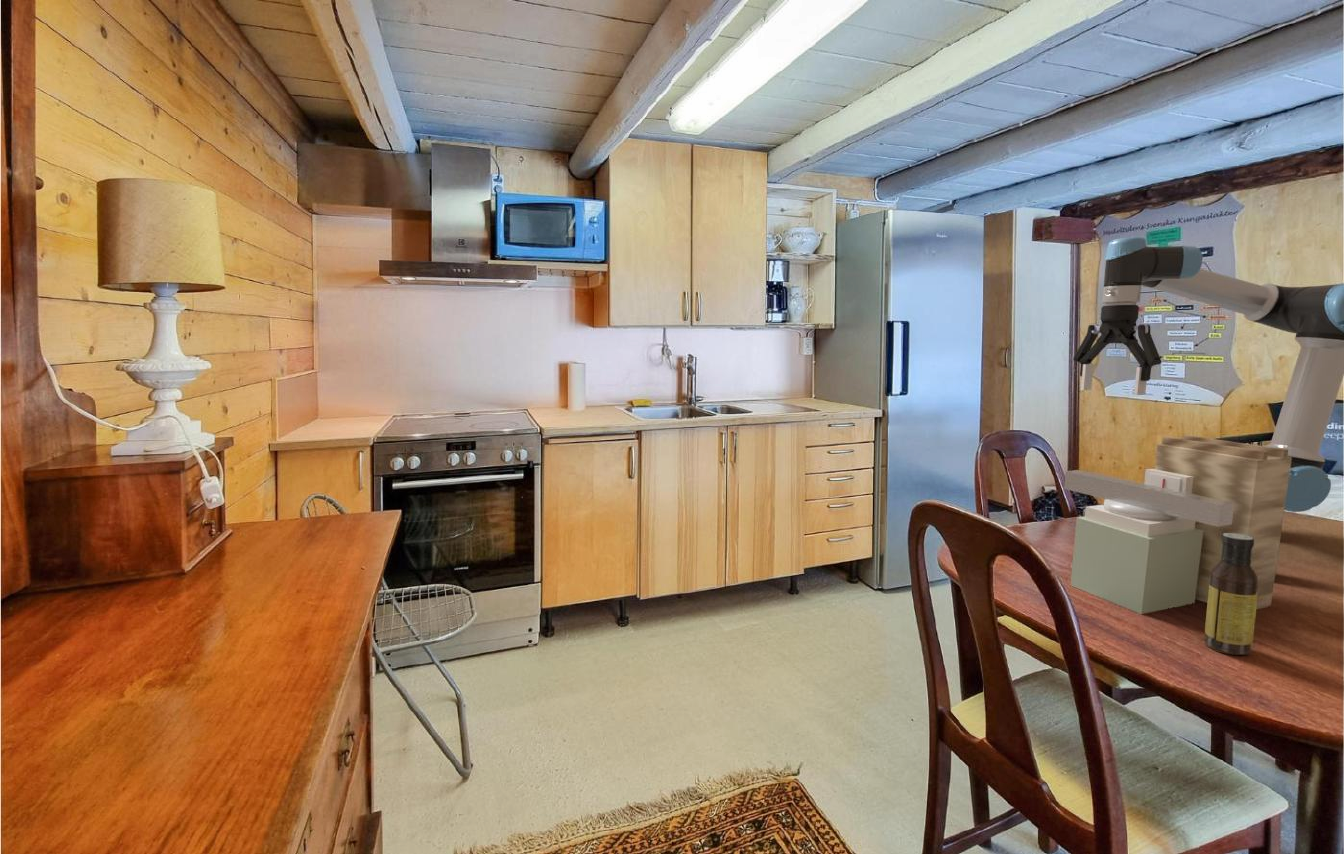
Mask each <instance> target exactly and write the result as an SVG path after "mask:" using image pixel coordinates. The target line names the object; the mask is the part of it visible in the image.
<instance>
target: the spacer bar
mask: <svg viewBox="0 0 1344 854" xmlns="http://www.w3.org/2000/svg"><path fill="white" fill-rule="evenodd" d="M1064 478H1065V479H1064V486H1063V487H1064V490H1068V491H1071V492H1076V493H1079V494H1083V495H1087V496H1088V495H1089V496H1093V497H1095V498H1100V499H1104V500H1105V499H1108V500H1112V501H1116V502H1120V503H1124V504H1128V505H1132V506H1136V507H1140V508H1144V509H1148V510H1152V511H1156V512H1160V513H1164V514H1168V515H1172V516H1176V517H1180V518H1184V519H1188V520H1192V521H1196V522H1201V523H1205V524H1209V525H1213V526H1217V527H1219V526H1225V525H1231V524H1232V519H1233V511H1234V503H1232V502H1228V501H1223V500H1218V499H1214V498H1209V497H1204V496H1199V495H1195V494H1190V493H1185V492H1181V491H1176V490H1171V489H1166V488H1162V487H1157V486H1152V485H1148V484H1144V482H1138V481H1137V482H1136V481H1133V480H1128V479H1125V478H1119V477H1114V476H1110V475H1105V474H1099V473H1096V472H1092V471H1085V470H1081V469H1075V470H1074V469H1073V470H1066V471H1065V477H1064Z"/></svg>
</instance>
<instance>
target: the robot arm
mask: <svg viewBox="0 0 1344 854" xmlns="http://www.w3.org/2000/svg"><path fill="white" fill-rule="evenodd" d="M1203 258H1204V257H1203V253H1202V251H1201V249H1200V248H1198V247H1197V246H1193V245H1191V246H1189V245H1179V246H1178V245H1177V246H1176V245H1175V246H1173V245H1172V246H1171V245H1170V246H1147V241H1146V238H1144V237H1136V236H1135V237H1121V238H1116V239H1112V240H1111V241H1109V243H1108V245H1107V250H1106V253H1105V258H1104V260H1105V265H1104V266H1105V269H1104V281H1103V291H1102V299H1101V303H1102V304H1104V305H1103V306H1101V309H1100V321H1101V324H1100V325H1099V324H1091V325H1090V324H1089V325H1088V328H1087V332H1086V334H1085V337H1084V338H1083V340H1082V342H1081V343H1080V346H1079V347H1078V349H1077V351H1076V353H1075V354H1074V356H1073V361H1074V362H1077V363H1079V364H1080V369H1079V371H1080V372H1079V376H1080V377H1081V382H1080V383H1081V385H1080V391H1089V390H1090V391H1092V387H1093V386H1092V385H1093V378H1094V377H1093V375H1094V367H1095V366H1094V363H1093V361H1094V360H1095V359H1096V358H1097V356H1098V355H1099V354H1100V353H1101V352H1102V351H1103V350H1105V348H1106V347H1107V346H1108V345H1109V344H1123V346H1124V345H1125V346H1126V347H1127V349H1128V350H1129V351H1130V353H1131V355H1132V356H1133V357H1134V358H1135V360H1136V361H1137V363H1138V364H1139V366H1137V367H1136V371H1135V380H1134V390H1133V395H1134V396H1144V395H1145V396H1146V389H1147V382H1150V379H1151V373H1152V368H1153V367H1155V366H1158V365H1161V364H1162V360H1161V357H1160V355H1159V352H1158V350H1157V349H1158V348H1157V347H1156V344H1155V342H1154V339H1153V337H1152V334H1151V325H1150V324H1138V325H1137V321H1138V319H1139V314H1140V313H1139V312H1140V306H1139V305H1138V303H1140V302H1141V293H1142V287H1145V288H1149V289H1154V290H1158V291H1161V292H1165V293H1168V294H1172V295H1175V296H1178V297H1182V298H1186V299H1189V300H1192V301H1196V302H1200V303H1204V304H1207V305H1211V306H1214V307H1217V308H1221V309H1224V310H1228V311H1232V312H1235V313H1238V314H1240V315H1241V314H1242V315H1243V317H1244V318H1245V320H1248V321H1251V322H1254V323H1258V324H1259V325H1260V324H1261V325H1262V326H1263V325H1264V326H1267V327H1270V328H1273V329H1277V330H1280V331H1283V332H1287V333H1292V334H1295V336H1294V340H1295V341H1296V343H1298V345H1299V346H1300V350H1299V353H1298V356H1297V359H1296V362H1295V365H1294V369H1293V372H1292V374H1291V378H1290V381H1289V384H1288V388H1287V391H1286V394H1285V396H1284V401H1283V404H1282V407H1281V409H1280V413H1279V414H1278V415H1279V416H1278V418H1277V422H1276V425H1275V428H1274V432H1273V435H1272V438H1271V440H1270V442H1269V444H1267V445H1265V447H1273V448H1280V449H1287V450H1288V456H1289V457H1292V460H1291V467H1290V474H1289V481H1288V488H1287V495H1286V502H1285V509H1284V511H1285V512H1292V513H1300V512H1301V513H1302V512H1306V511H1309V510H1311V509H1313V508H1315V507H1318V506H1320V504H1322V503H1323V502H1324V501H1325V500H1326V499H1327V497H1328V495H1329V494H1330V492H1331V488H1332V483H1331V479H1330V478H1329V474H1328V473H1326V472H1325V471H1324V470H1323V468H1324V466H1325V462H1326V460H1325V458H1324V457H1323V456H1322V455H1321V453H1320V448H1321V446H1322V442H1323V440H1324V437H1325V433H1326V431H1327V427H1328V424H1329V421H1330V419H1331V416H1332V412H1333V409H1334V405H1335V403H1336V401H1337V397H1338V394H1339V391H1340V388H1341V385H1342V383H1343V379H1344V283H1343V282H1342V283H1338V284H1327V285H1315V286H1314V285H1313V286H1283V285H1277V284H1273V283H1265V284H1263V285H1262V284H1258V283H1253V282H1249V281H1247V280H1242V279H1240V278H1239V279H1238V278H1235V277H1231V276H1229V275H1225V274H1221V273H1217V272H1213V271H1210V270H1206V269H1203V268H1202V265H1203ZM1099 334H1101V335H1100V336H1098V335H1099ZM1135 334H1137V337H1138V338H1137V337H1136V336H1135ZM1095 341H1096V342H1095ZM1139 341H1140V343H1139Z"/></svg>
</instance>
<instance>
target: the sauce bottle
mask: <svg viewBox="0 0 1344 854" xmlns="http://www.w3.org/2000/svg"><path fill="white" fill-rule="evenodd" d="M1222 543H1223V548H1222V555H1221V561H1220V562H1219V563H1218V564H1217V565H1216V566H1215V567H1214V568H1213V569H1212V571H1211V580H1210V584H1209V593H1208V603H1206V604H1207V606H1206V615H1205V616H1206V617H1205V625H1204V626H1205V627H1204V633H1205V636H1204V643H1205V645H1207V646H1208V647H1209V648H1210V649H1212V650H1214V651H1217V652H1219V653H1223V654H1228V655H1237V656H1239V655H1240V656H1241V655H1247V654H1250V653H1251V649H1252V644H1253V641H1254V632H1255V626H1256V625H1255V624H1256V615H1257V610H1256V606H1257V595H1258V578H1257V576H1256V574H1255V572H1254V571H1253V569H1252V568H1251V566H1250V565H1251V551H1252V548H1253V546H1254V538H1252V537H1250V536H1247V535H1243V534H1236V533H1224V534H1223V535H1222Z"/></svg>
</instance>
